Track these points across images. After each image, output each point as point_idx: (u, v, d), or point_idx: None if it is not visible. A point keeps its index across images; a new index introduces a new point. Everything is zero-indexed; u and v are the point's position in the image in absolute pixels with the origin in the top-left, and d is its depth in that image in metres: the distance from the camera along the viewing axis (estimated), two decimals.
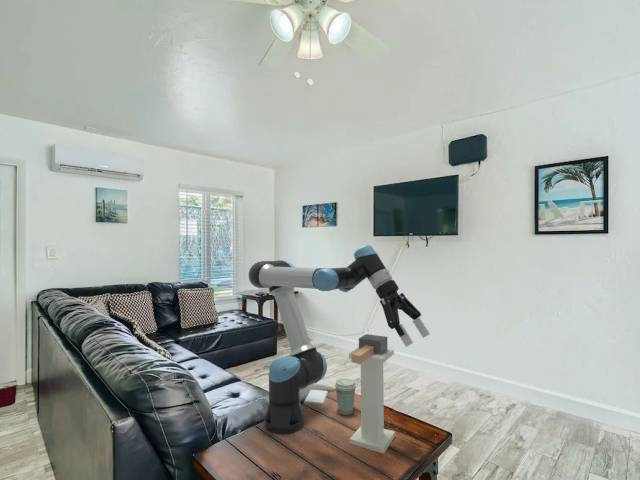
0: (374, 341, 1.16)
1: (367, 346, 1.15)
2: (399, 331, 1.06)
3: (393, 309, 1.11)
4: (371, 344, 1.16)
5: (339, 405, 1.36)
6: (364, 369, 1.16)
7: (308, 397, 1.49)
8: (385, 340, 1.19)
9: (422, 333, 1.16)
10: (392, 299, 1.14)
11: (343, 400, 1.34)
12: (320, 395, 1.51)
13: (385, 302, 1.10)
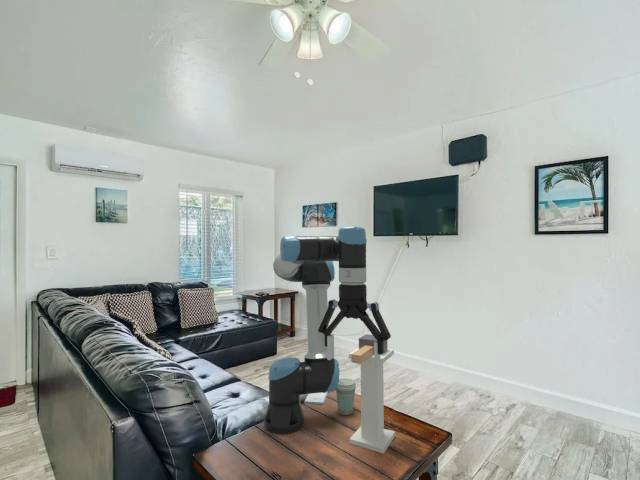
0: (374, 341, 1.16)
1: (367, 346, 1.15)
2: None
3: None
4: (371, 344, 1.16)
5: (339, 405, 1.36)
6: (364, 369, 1.16)
7: (308, 397, 1.49)
8: (385, 340, 1.19)
9: None
10: (342, 306, 0.93)
11: (343, 400, 1.34)
12: (320, 395, 1.51)
13: None
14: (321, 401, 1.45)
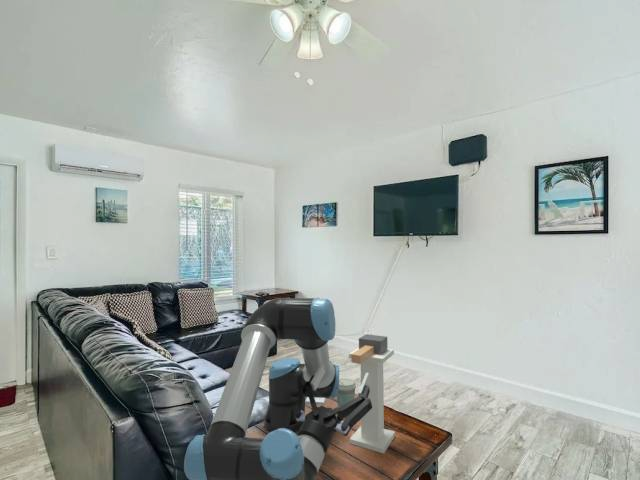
0: (374, 341, 1.16)
1: (367, 346, 1.15)
2: None
3: None
4: (371, 344, 1.16)
5: (339, 405, 1.36)
6: (364, 369, 1.16)
7: None
8: (385, 340, 1.19)
9: None
10: None
11: (343, 400, 1.34)
12: None
13: None
14: (322, 401, 1.45)
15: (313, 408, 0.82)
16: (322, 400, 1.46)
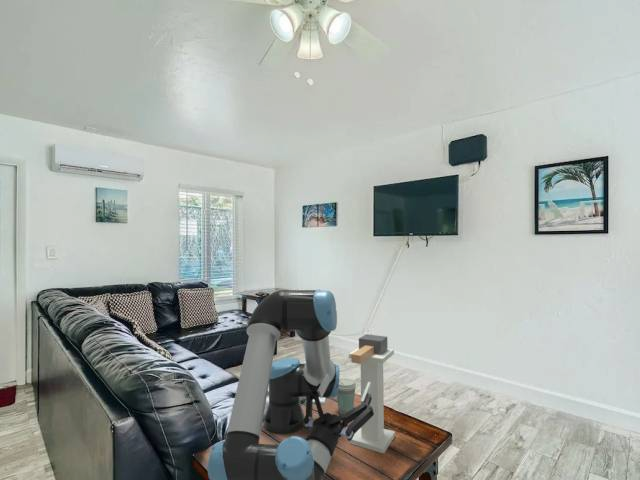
0: (374, 341, 1.16)
1: (367, 346, 1.15)
2: None
3: None
4: (371, 344, 1.16)
5: (339, 405, 1.36)
6: (364, 369, 1.16)
7: None
8: (385, 340, 1.19)
9: None
10: None
11: (343, 400, 1.34)
12: None
13: None
14: (322, 401, 1.45)
15: (320, 415, 0.91)
16: (323, 400, 1.46)
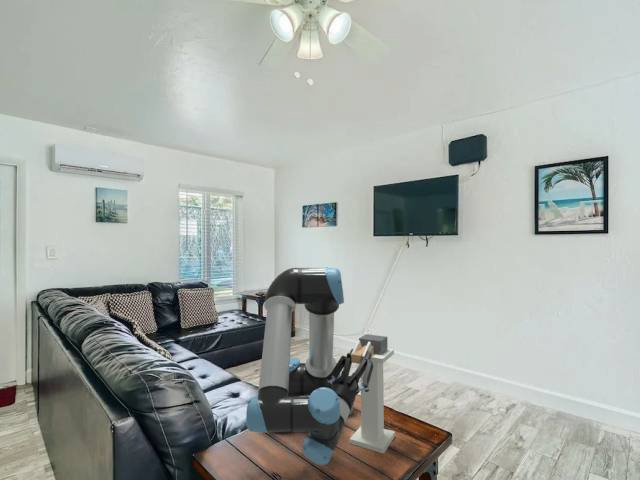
0: (374, 341, 1.16)
1: None
2: None
3: None
4: (371, 344, 1.16)
5: None
6: None
7: None
8: (385, 340, 1.19)
9: None
10: None
11: None
12: None
13: None
14: None
15: (341, 375, 1.01)
16: None
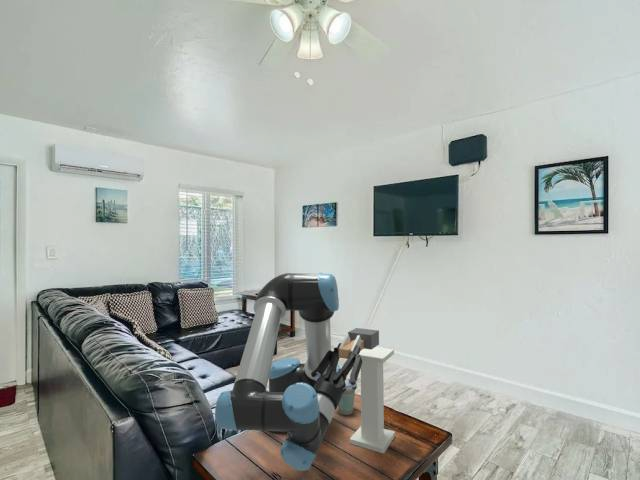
0: (364, 335, 1.07)
1: None
2: None
3: None
4: (361, 338, 1.07)
5: (339, 405, 1.36)
6: (364, 369, 1.16)
7: None
8: (376, 334, 1.10)
9: None
10: None
11: (343, 400, 1.34)
12: None
13: None
14: None
15: (327, 371, 0.92)
16: None
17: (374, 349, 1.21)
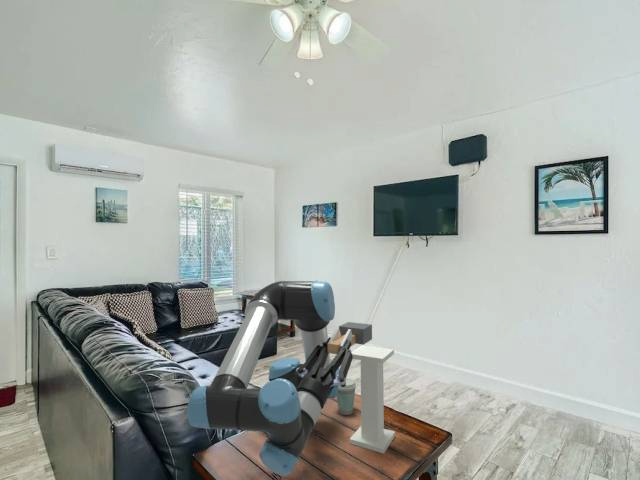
0: (356, 329, 1.00)
1: None
2: None
3: None
4: (352, 333, 1.01)
5: (339, 405, 1.36)
6: (364, 369, 1.16)
7: None
8: (369, 328, 1.03)
9: None
10: None
11: (343, 400, 1.34)
12: None
13: None
14: None
15: (314, 368, 0.86)
16: None
17: (374, 349, 1.21)
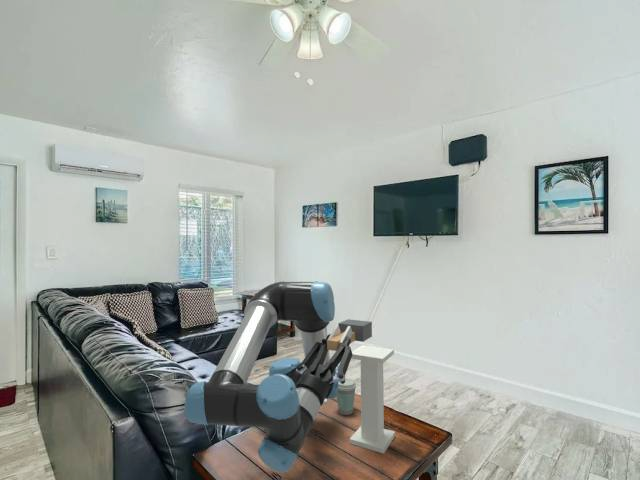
0: (356, 326, 0.99)
1: None
2: None
3: None
4: (352, 330, 1.00)
5: (339, 405, 1.36)
6: (364, 369, 1.16)
7: None
8: (369, 325, 1.02)
9: None
10: None
11: (343, 400, 1.34)
12: None
13: None
14: (324, 400, 1.46)
15: (313, 364, 0.85)
16: (325, 399, 1.47)
17: (374, 349, 1.21)
